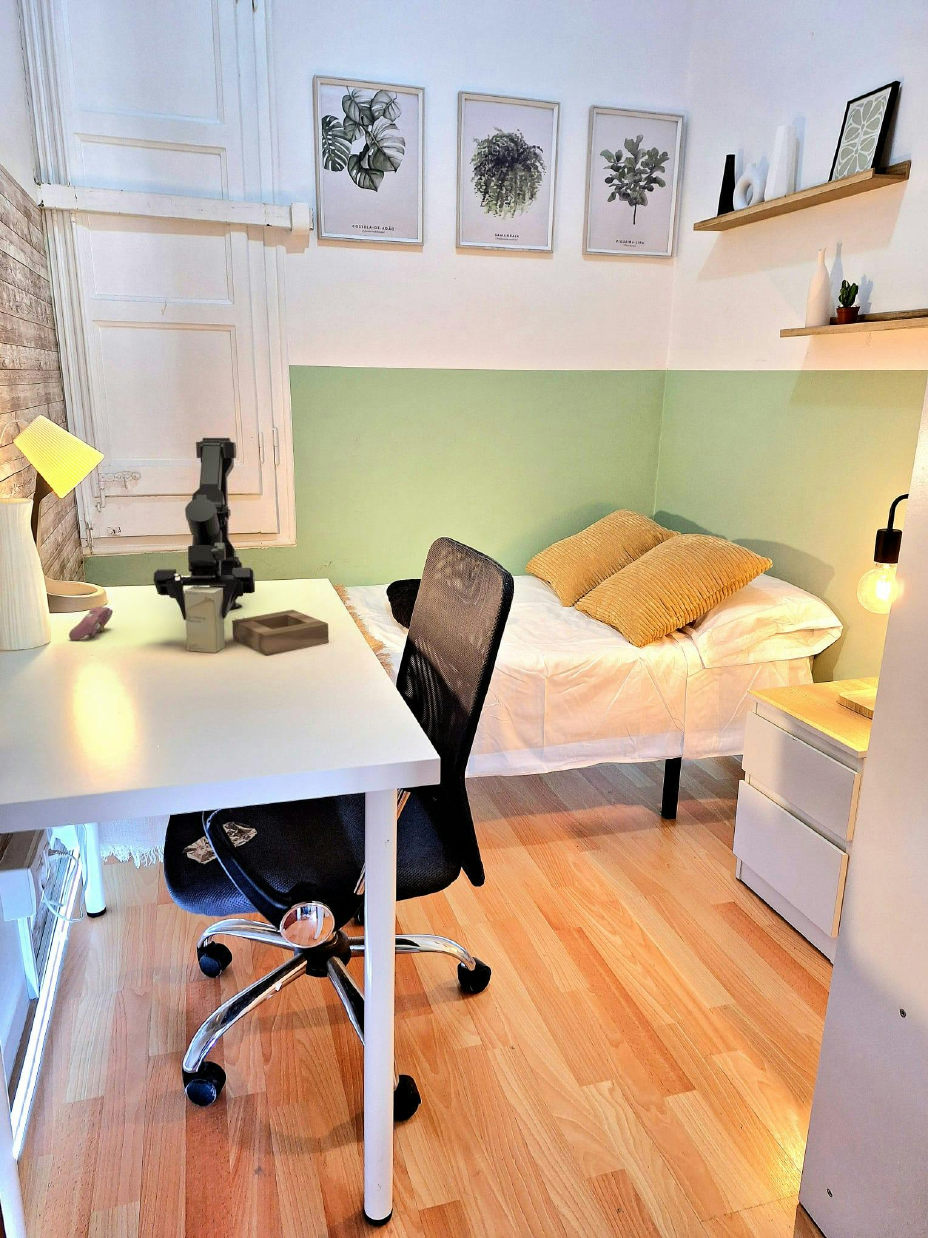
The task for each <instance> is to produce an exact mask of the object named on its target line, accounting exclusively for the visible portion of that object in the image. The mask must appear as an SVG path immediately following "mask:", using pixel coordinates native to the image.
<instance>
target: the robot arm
mask: <svg viewBox="0 0 928 1238" xmlns="http://www.w3.org/2000/svg"><path fill="white" fill-rule="evenodd" d="M195 449H196V450H195V451H196V459H200V465H201V466H200V475H199V476H200V477H199V488H197V489H196V490H195V491H194V492H193V493H192V498H191V501H189V502H187V505H186V506H185V509H184V512H185V518H186V521H187V524H188V528H189V532H190V534H191V535H192V544H191V545H188V547H187V552H188V553H187V557H188V558H187V563H188V566H187V569H188V572H190V575H181V574H179V573H177V570H176V569H175V568H163V569H160V568H159V569H158V568H157V570H155V572H153V584H154V586H155V589H156V592H157V595H160V596H169V598H171V599H175V601H176V603H177V605H178V606H179V609H180V612H181V613H180V614H181V616H182V619H183V621H186V614H185V590H184V588H185V587H190V586H191V587H193V586H201V587H216V588H223V608H222V618H223V619H224V620H225V619H226V617H227V615H228V614H229V612H230V610H233V609H240V608H242V607H243V604H240V603H237V599H238V598H239V597H241V598H242V597H244V594H253V593H255V591H256V582H255V581H256V580H255V574H254V572H255V571H254V569H252V568H251V567H243V564H242V562H241V561H240V557H239V556H237V551H236V549H235V548H234V546H233V545H232V542H231V541H230V539H229V520H230V517H231V509H230V508H229V502H228V501H229V499H228V498H229V494H228V490H229V489H228V478H229V475H230V473H231V472H232V471H233V470H234V467H235V463H234V461H235V459H237V443H236V442H234V441H233V442H232V441H231V438H230V437H202V440H200V441H196V442H195Z"/></svg>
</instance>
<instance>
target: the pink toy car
mask: <svg viewBox="0 0 928 1238" xmlns="http://www.w3.org/2000/svg"><path fill="white" fill-rule="evenodd" d="M113 611H114V610H112V609H111V608H109V607H107V606H106V607H104V606H103V605H101V606H95V607H92V608H91V609H90V610H89V612H87V614H85V616H84V617H83V618H82V620H81V621H80V622H79V623H78V624H77V625H76V626H74V627H73V628H72V629H70V631H69V633H68V637H69V639H70V640H71V641H79V640H81V639H84V638H85V637H86V636H89V637H90V638H93V637H94V636H96V634H97V633H99V634H100V633H101V632H102V631H104V629H105V626H106V625H107V624H108V622H109V621H110V620H111V618H112V616H113Z"/></svg>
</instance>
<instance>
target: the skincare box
mask: <svg viewBox="0 0 928 1238" xmlns="http://www.w3.org/2000/svg"><path fill="white" fill-rule="evenodd" d="M184 593H185V614H186V620H185V629H186V630H185V631H186V649H187V651H192V652H203V653H212V654H213V653H215V654H216V653H217V652H219V651H221V650H223V649H224V648H225V647H226V644H225V643H226V640H225V636H226V635H225V619H223V618H222V608H223V588H216V587H209V586H191V587H189V588H186V589H185V590H184Z"/></svg>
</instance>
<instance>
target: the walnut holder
mask: <svg viewBox="0 0 928 1238" xmlns="http://www.w3.org/2000/svg"><path fill="white" fill-rule="evenodd" d="M231 625H232V639H233V640H234V641H236V642H238V643H241V644H242V645H245V646H246V647H248V648H251V649H252V650H254V651H257V652H259V653H260V654H261V655H262V654H263V655H264V656H270V655H276V654H281V653H285V652H290V651H295V650H299V649H303V648H308V647H313V646H319V645H323V644H328V643H329V623H328V622H325V621H322V620H320V619H317V618H315V617H313V616H311V615H307V614H305V613H302V612H299V611H298V610H294V609H287V610H283V611H276V612H271V613H265V614H260V615H254V616H247V617H243V618H238V619H232V620H231Z"/></svg>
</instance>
